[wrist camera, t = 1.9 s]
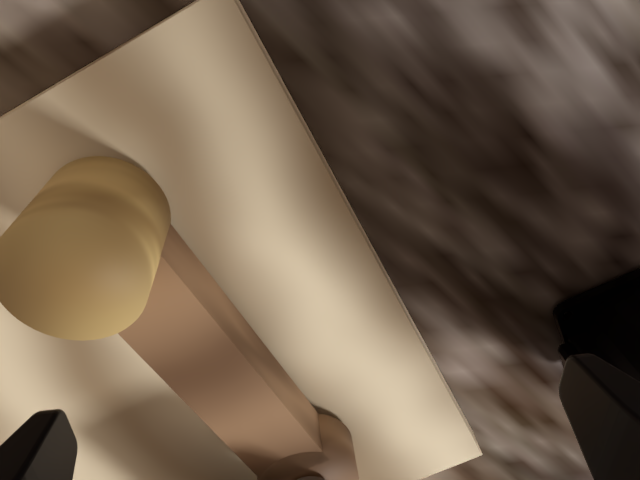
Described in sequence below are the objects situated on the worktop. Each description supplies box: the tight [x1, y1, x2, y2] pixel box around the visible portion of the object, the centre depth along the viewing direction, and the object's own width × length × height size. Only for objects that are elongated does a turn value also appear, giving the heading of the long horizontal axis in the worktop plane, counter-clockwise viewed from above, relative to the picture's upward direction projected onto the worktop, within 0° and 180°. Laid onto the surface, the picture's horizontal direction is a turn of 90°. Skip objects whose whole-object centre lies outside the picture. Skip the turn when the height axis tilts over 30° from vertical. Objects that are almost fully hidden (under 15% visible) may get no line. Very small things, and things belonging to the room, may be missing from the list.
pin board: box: [0, 0, 483, 480], centre depth 20 cm, size 24×24×7 cm
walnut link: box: [0, 156, 359, 480], centre depth 19 cm, size 18×4×4 cm, turn 27°
